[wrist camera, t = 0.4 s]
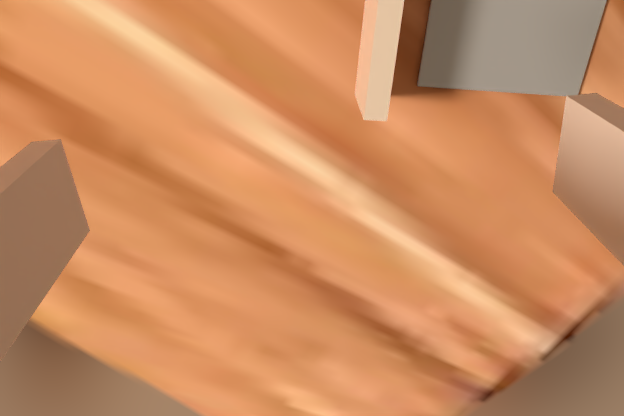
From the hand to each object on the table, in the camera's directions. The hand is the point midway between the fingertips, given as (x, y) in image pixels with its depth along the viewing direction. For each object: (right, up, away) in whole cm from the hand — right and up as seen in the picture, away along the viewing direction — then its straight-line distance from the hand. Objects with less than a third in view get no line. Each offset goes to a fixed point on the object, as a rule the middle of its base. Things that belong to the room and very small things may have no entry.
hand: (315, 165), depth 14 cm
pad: (+14, +13, +23) cm, 30 cm away
